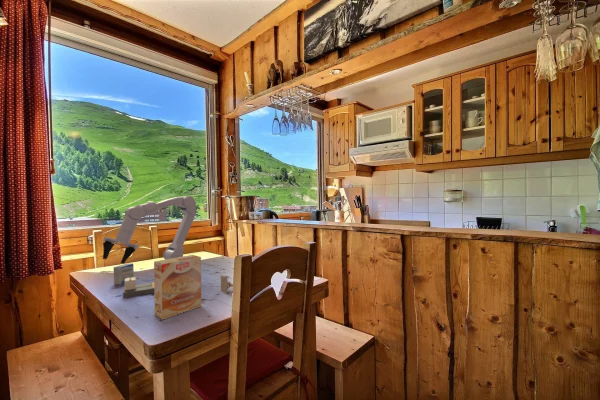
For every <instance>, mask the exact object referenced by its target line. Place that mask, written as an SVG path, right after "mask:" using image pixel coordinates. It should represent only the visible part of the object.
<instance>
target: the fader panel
mask: <svg viewBox="0 0 600 400" xmlns="http://www.w3.org/2000/svg"><path fill="white" fill-rule="evenodd" d="M149 294H154V281H152V282H146V283H140V284H136V289H131V290H125V286H124V288H123V292H122V297H123V298H130V297H136V296H143V295H149Z"/></svg>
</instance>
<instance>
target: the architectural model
mask: <svg viewBox="0 0 600 400" xmlns="http://www.w3.org/2000/svg"><path fill="white" fill-rule="evenodd" d="M233 285H234V284H233V283H231V282H230V281H229V275H227V276H224V275H220V292H223V293H224V294H228V290H229V288H230V289H231V288H234V287H233Z"/></svg>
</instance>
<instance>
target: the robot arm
mask: <svg viewBox="0 0 600 400" xmlns="http://www.w3.org/2000/svg"><path fill="white" fill-rule="evenodd" d="M196 205H197V202H196V200H195V198H194V197H193V196H191V195H187V196H175V197H172V198H171V197H170V198H168V199H165V200H162V201H159V202H155V201H151V200H149V201H147V202H146V203H142V204H137V205H136V206H130V207H128V208H127V209H126V210H125V211H124V219H123V220H122V223H121V225H120V226H119V230H118V232H117V234H116V236H115V238H112V237H107V236H104V237H103V240H102V245H103V255H102V259H103V260H107V259H108V257H109V254H110V252H111V250H112V249H113V247H114V246H115V245H118V246H122V247H125V249H124V250H125V251H124V254H123V256H122V259H121V261H120V264H121V265H123V264H126V261H127V260H128V259H129V257H131V255H132V254H133V253H135V251H136V250H138V249H139V247H140V245H139V244H135V243H131V242H130V241H131V239H132V238H133V234H134V233H135V229H136V228H137V226H138V225H137V224H138V223H139V221H140V219H142V218H143V217H146V216H151V215H152V214H156V213H158V211H159V210H160V209H164V208H167V207H171V206H176V207H177V208H179V210H180V211H181V212H182V214H183V217H182V219H181V221H180V224H179V227H178V228H177V231H176V232H175V236H174V238H173V240H172V242H171V243H170V244H169V245H168V247H167V248H166V249H165V250H164V251H163V254H162V256H163V260H166V259H171V258H177V257H183V256H184V251H185V249H184V243H185V242H186V239H187V236H188V234H189V232H190V229H191V226H192V225H193V222H194V219H195V217H196Z"/></svg>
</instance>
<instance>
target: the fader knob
mask: <svg viewBox="0 0 600 400" xmlns="http://www.w3.org/2000/svg"><path fill="white" fill-rule="evenodd" d="M136 278H137V277H136V276H134V277H132V278H131V277H130V278H125V283H124V287H125V290H131V289H136V285H137V279H136Z"/></svg>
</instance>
